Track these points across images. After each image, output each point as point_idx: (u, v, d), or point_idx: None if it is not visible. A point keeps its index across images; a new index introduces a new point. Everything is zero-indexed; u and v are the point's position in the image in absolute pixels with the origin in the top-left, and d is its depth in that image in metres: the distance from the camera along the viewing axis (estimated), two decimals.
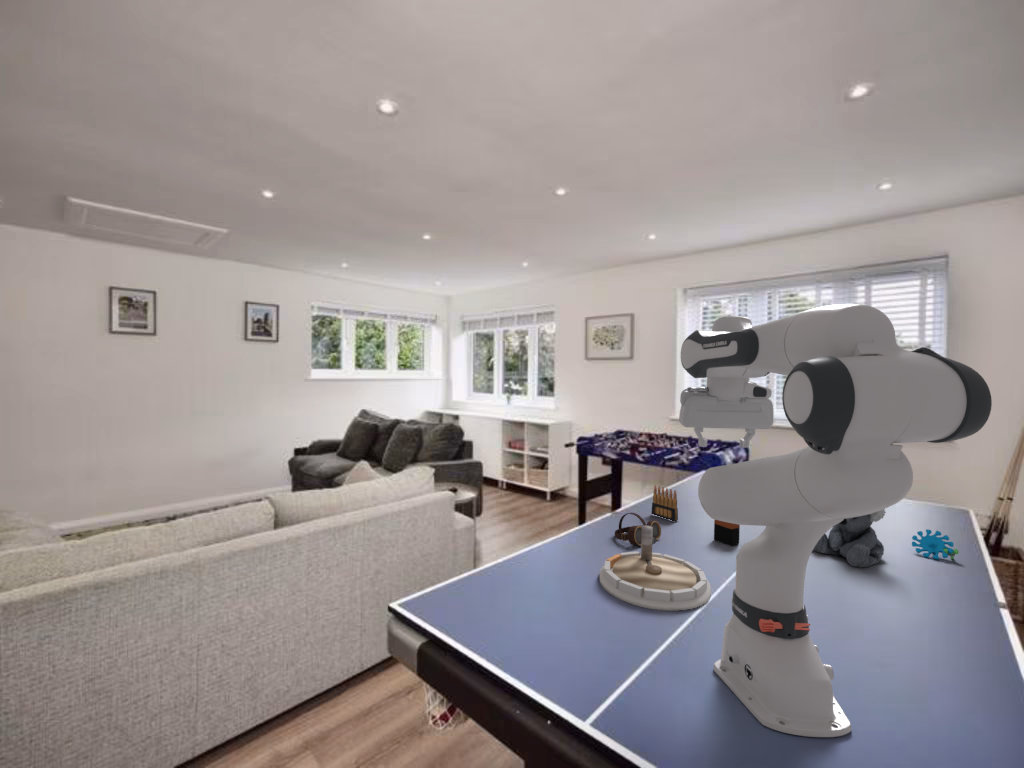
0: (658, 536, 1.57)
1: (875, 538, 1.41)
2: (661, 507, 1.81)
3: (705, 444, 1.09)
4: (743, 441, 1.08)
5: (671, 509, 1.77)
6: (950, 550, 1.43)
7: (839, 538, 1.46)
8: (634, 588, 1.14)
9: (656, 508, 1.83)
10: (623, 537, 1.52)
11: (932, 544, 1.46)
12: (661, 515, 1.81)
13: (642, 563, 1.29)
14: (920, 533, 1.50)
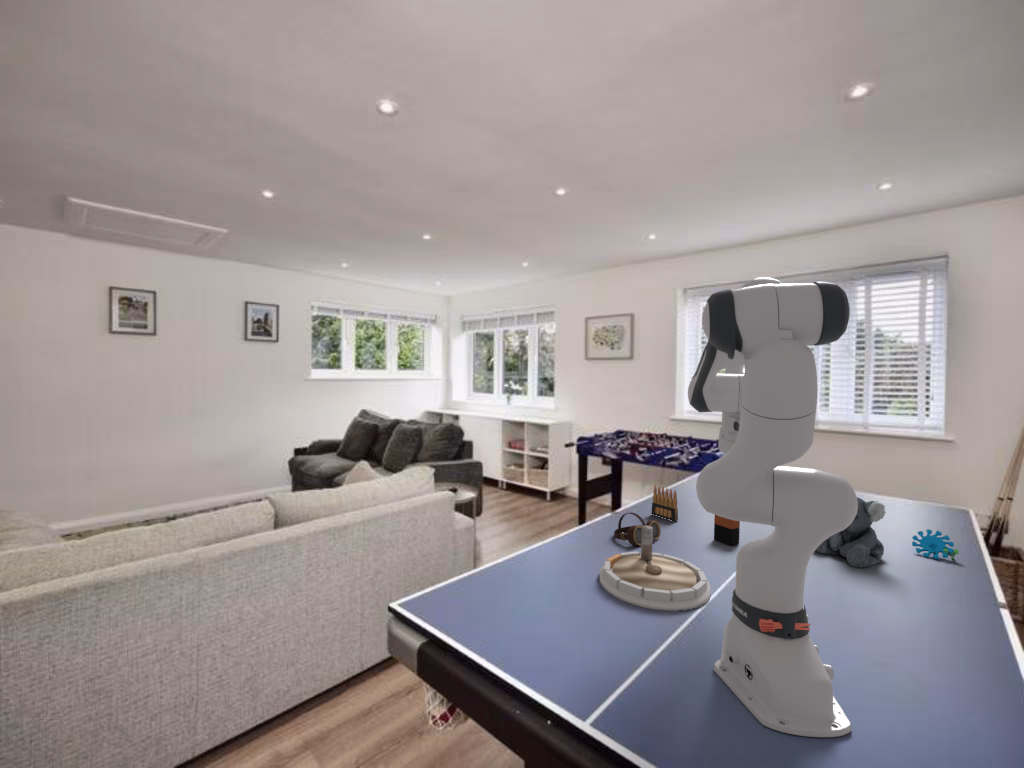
0: (657, 536, 1.57)
1: (875, 538, 1.41)
2: (661, 507, 1.81)
3: None
4: None
5: (671, 509, 1.77)
6: (950, 550, 1.43)
7: (839, 538, 1.46)
8: (634, 588, 1.14)
9: (656, 508, 1.83)
10: (622, 537, 1.52)
11: (932, 544, 1.46)
12: (661, 515, 1.81)
13: (642, 563, 1.29)
14: (920, 533, 1.50)
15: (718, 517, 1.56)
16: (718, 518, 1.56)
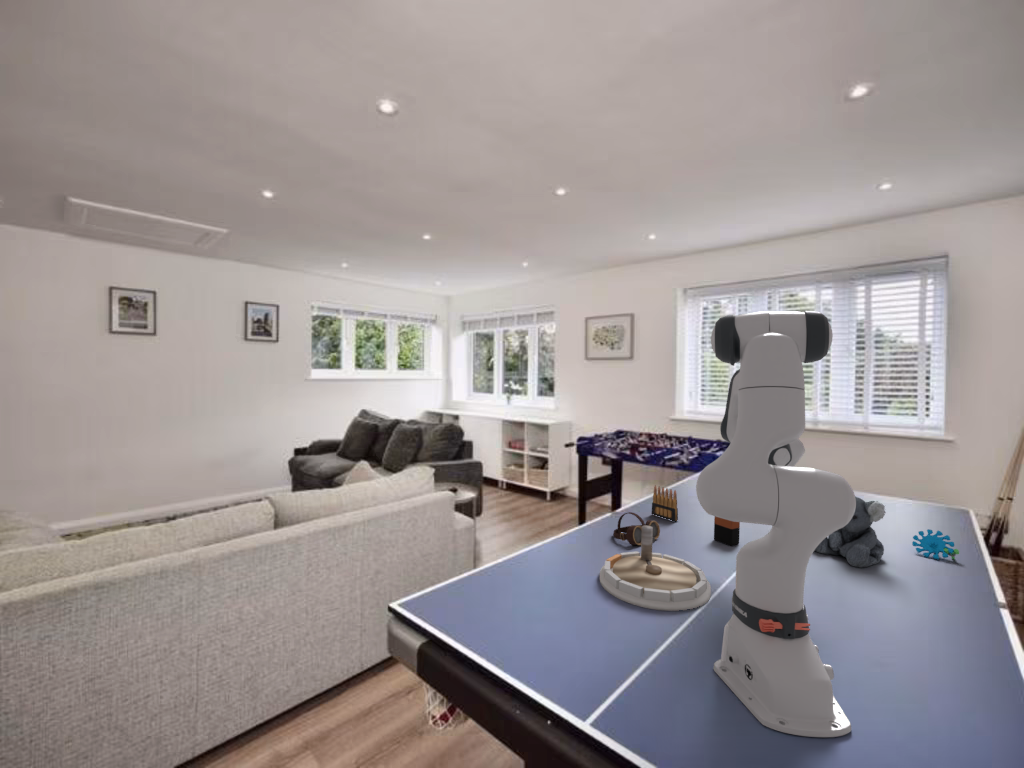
0: (657, 536, 1.58)
1: (875, 538, 1.41)
2: (661, 507, 1.81)
3: None
4: None
5: (671, 509, 1.77)
6: (950, 550, 1.43)
7: (839, 538, 1.46)
8: (634, 588, 1.14)
9: (656, 508, 1.83)
10: (622, 537, 1.53)
11: (932, 544, 1.46)
12: (661, 515, 1.81)
13: (642, 563, 1.29)
14: (921, 533, 1.50)
15: (718, 517, 1.56)
16: (718, 518, 1.56)
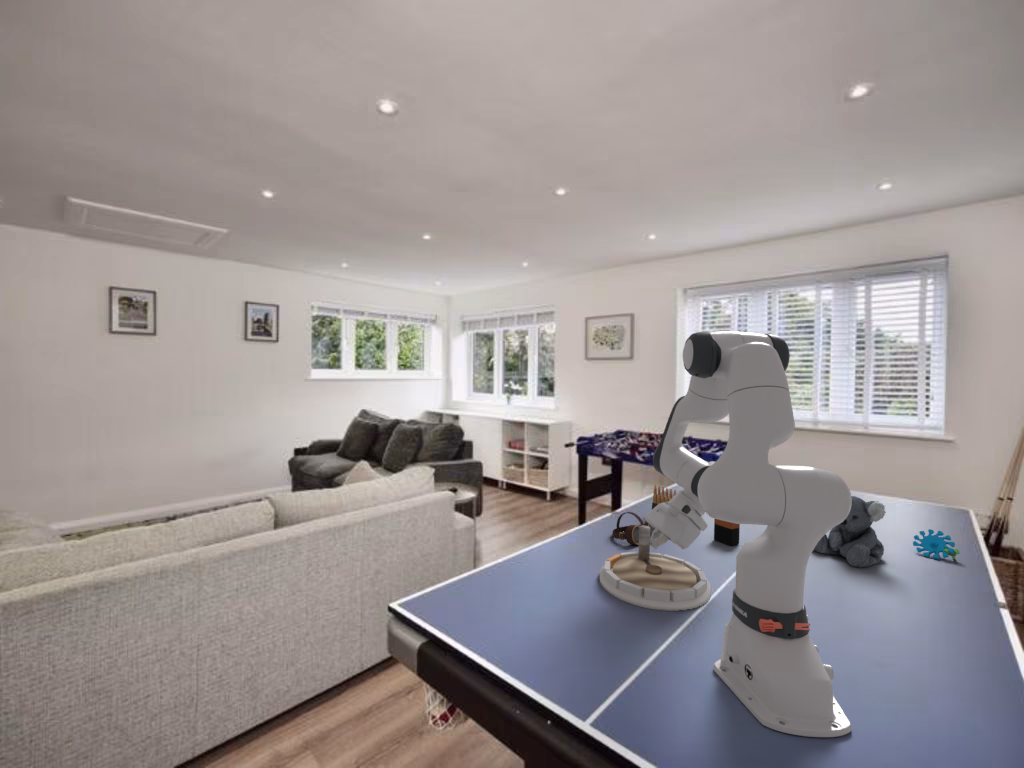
0: None
1: (875, 538, 1.41)
2: None
3: (650, 541, 1.33)
4: (653, 540, 1.32)
5: None
6: (951, 550, 1.43)
7: (839, 538, 1.46)
8: (634, 588, 1.14)
9: None
10: (621, 536, 1.53)
11: (933, 544, 1.46)
12: None
13: (641, 563, 1.29)
14: (922, 533, 1.50)
15: None
16: None
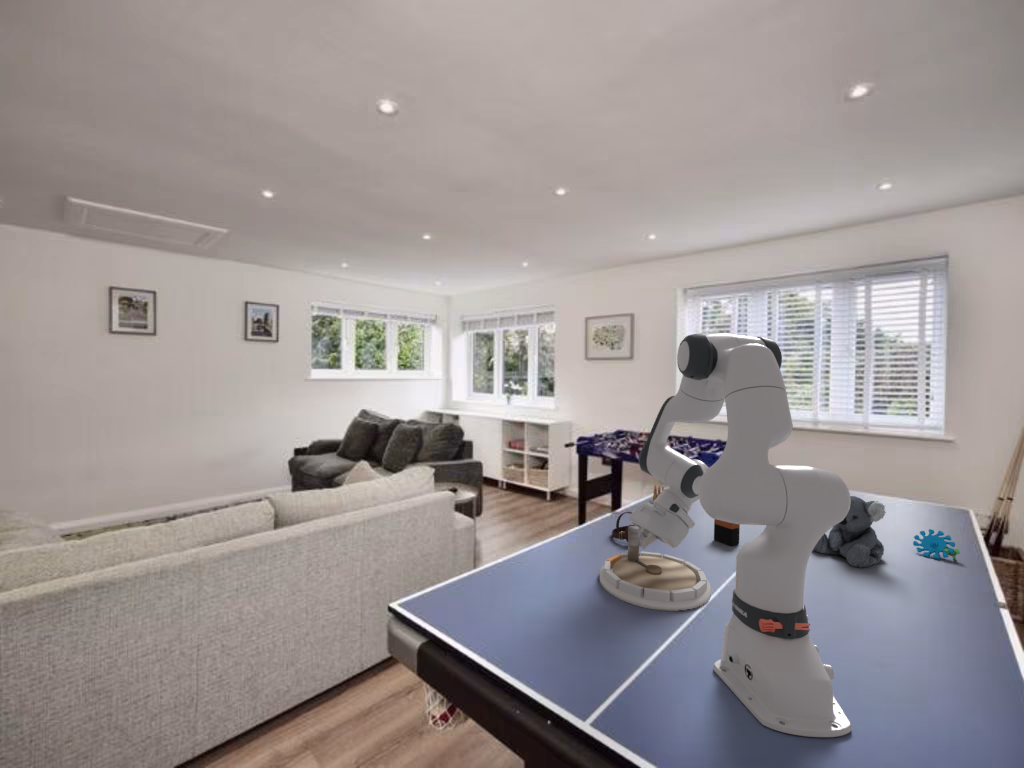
0: None
1: (875, 538, 1.41)
2: None
3: None
4: (641, 539, 1.32)
5: None
6: (951, 550, 1.43)
7: (839, 538, 1.46)
8: (634, 588, 1.14)
9: None
10: (620, 536, 1.53)
11: (933, 544, 1.46)
12: None
13: (635, 564, 1.28)
14: (922, 533, 1.51)
15: None
16: None
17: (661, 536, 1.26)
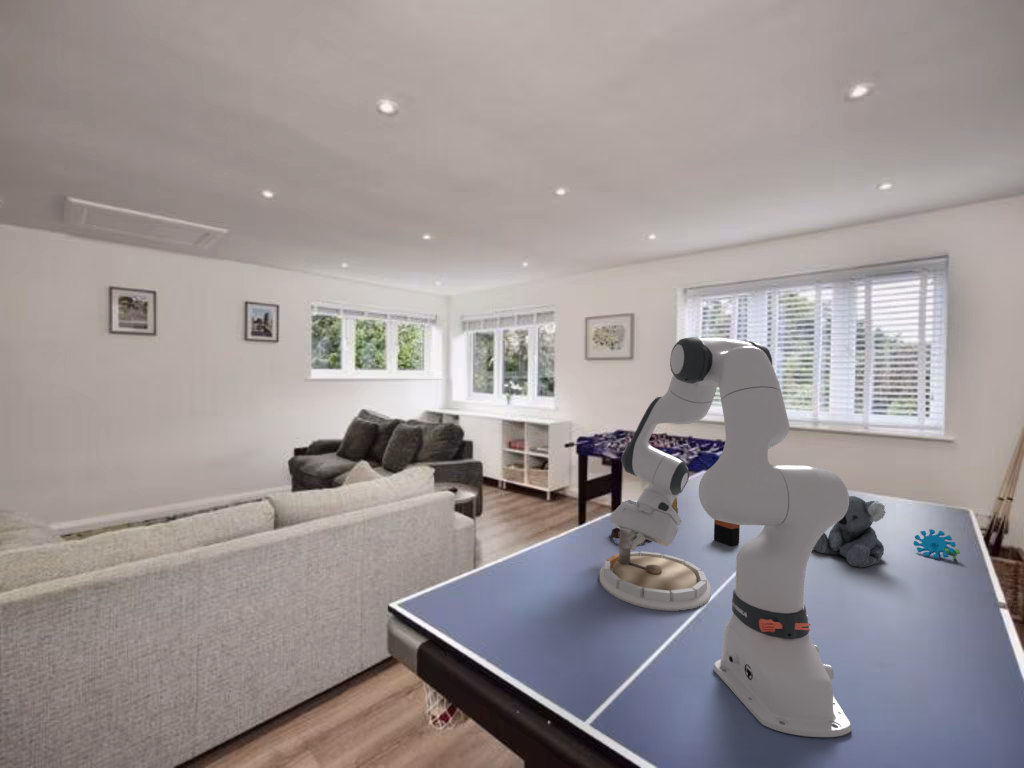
0: None
1: (875, 538, 1.41)
2: None
3: None
4: None
5: None
6: (951, 550, 1.43)
7: (839, 538, 1.46)
8: (634, 588, 1.14)
9: None
10: None
11: (933, 544, 1.46)
12: None
13: (631, 567, 1.26)
14: (923, 533, 1.51)
15: None
16: None
17: (654, 536, 1.26)
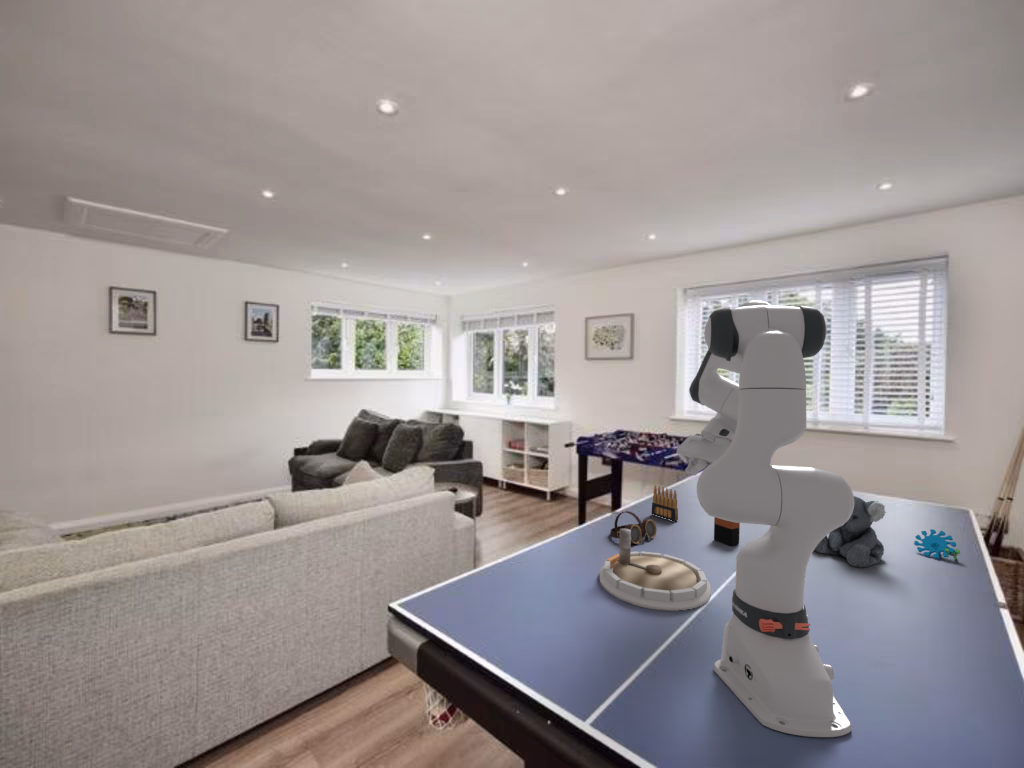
0: (653, 534, 1.59)
1: (875, 538, 1.41)
2: (661, 507, 1.81)
3: (688, 469, 1.34)
4: (691, 467, 1.34)
5: (671, 509, 1.77)
6: (951, 550, 1.43)
7: (839, 538, 1.46)
8: (634, 588, 1.14)
9: (656, 508, 1.83)
10: (619, 535, 1.54)
11: (934, 543, 1.47)
12: (661, 515, 1.81)
13: (631, 567, 1.26)
14: (924, 533, 1.51)
15: None
16: (718, 518, 1.56)
17: (713, 459, 1.28)
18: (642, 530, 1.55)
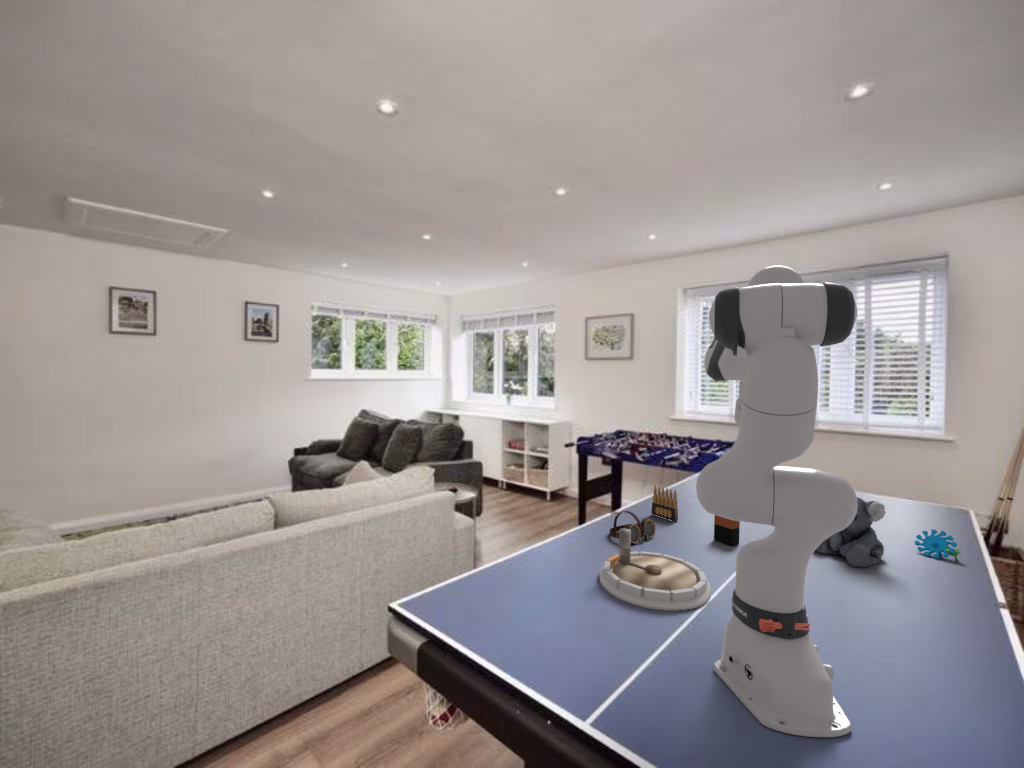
0: (652, 534, 1.59)
1: (875, 538, 1.41)
2: (661, 507, 1.81)
3: None
4: None
5: (671, 509, 1.77)
6: (951, 550, 1.43)
7: (839, 538, 1.46)
8: (634, 588, 1.14)
9: (656, 508, 1.83)
10: (618, 535, 1.54)
11: (934, 543, 1.47)
12: (661, 515, 1.81)
13: (631, 567, 1.26)
14: (925, 533, 1.51)
15: (718, 517, 1.56)
16: (718, 518, 1.56)
17: None
18: (641, 530, 1.56)
